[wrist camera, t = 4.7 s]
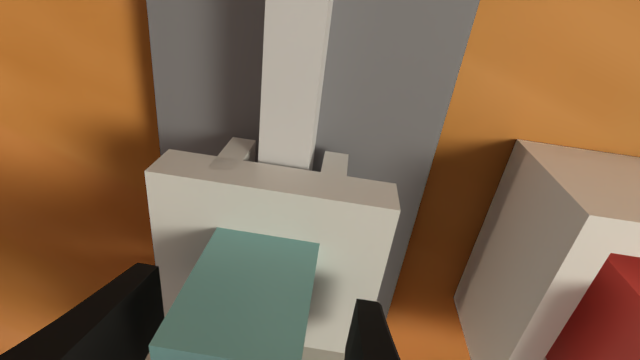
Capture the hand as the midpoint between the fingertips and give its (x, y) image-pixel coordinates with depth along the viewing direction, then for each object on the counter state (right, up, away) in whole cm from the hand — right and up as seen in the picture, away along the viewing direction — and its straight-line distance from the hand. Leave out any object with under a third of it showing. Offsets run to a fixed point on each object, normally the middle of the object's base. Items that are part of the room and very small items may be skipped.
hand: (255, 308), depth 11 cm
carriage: (0, +2, +4) cm, 4 cm away
